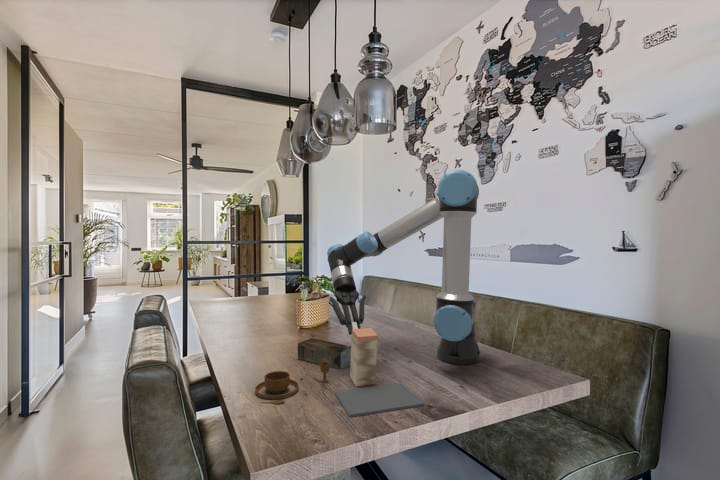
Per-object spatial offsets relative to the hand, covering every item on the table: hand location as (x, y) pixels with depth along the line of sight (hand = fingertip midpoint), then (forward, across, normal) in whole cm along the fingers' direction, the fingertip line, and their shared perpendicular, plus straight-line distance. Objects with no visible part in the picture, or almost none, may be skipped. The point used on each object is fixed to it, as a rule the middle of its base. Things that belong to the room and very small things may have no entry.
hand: (357, 342), depth 112 cm
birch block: (+9, -1, -6) cm, 11 cm away
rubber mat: (+19, -1, +4) cm, 19 cm away
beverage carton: (-5, +6, -21) cm, 22 cm away
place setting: (+11, +20, -6) cm, 24 cm away
